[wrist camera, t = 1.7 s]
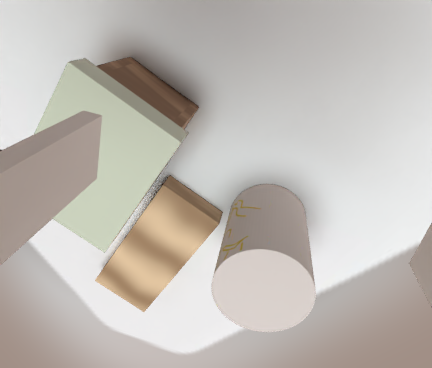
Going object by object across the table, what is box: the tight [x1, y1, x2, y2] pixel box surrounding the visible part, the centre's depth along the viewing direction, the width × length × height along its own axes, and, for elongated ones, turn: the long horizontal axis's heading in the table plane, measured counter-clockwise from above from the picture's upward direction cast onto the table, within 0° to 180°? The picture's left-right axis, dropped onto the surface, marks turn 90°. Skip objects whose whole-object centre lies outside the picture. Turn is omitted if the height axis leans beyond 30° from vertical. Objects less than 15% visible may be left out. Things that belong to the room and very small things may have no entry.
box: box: [97, 57, 199, 129], centre depth 35 cm, size 12×8×8 cm, turn 145°
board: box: [95, 176, 223, 312], centre depth 43 cm, size 16×7×2 cm, turn 145°
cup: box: [212, 184, 316, 332], centre depth 35 cm, size 8×8×12 cm
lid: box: [34, 58, 188, 253], centre depth 30 cm, size 12×10×3 cm
